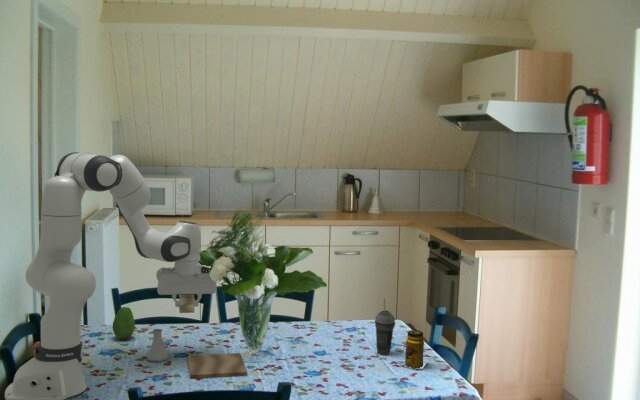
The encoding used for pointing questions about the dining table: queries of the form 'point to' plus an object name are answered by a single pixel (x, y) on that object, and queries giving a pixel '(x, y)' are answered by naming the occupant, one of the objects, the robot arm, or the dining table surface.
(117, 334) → the avocado
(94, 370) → the dining table surface
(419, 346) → the condiment
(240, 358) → the walnut board
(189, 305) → the birch cube
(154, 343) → the flask
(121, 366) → the dining table surface
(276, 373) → the dining table surface
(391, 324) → the beverage cup
